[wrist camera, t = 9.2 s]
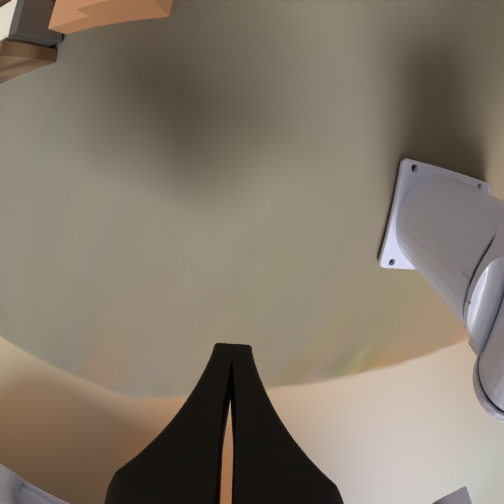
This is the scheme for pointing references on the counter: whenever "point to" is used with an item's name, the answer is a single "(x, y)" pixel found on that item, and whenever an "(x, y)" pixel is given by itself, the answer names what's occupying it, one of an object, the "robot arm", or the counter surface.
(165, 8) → the peach two-level step
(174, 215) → the counter surface
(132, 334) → the counter surface
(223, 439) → the robot arm
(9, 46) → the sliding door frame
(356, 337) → the counter surface
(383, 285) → the counter surface
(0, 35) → the sliding door
